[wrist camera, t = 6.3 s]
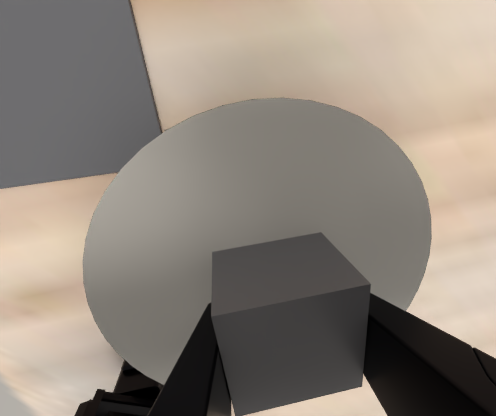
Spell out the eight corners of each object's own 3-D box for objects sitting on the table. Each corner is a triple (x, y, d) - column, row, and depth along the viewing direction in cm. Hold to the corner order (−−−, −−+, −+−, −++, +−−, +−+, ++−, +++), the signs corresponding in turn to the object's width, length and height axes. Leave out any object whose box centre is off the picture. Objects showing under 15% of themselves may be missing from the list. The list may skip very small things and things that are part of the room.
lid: (398, 352, 11) (464, 433, 8) (150, 410, 10) (124, 526, 7) (444, 76, 7) (615, 42, 4) (20, 130, 6) (-171, 139, 3)
